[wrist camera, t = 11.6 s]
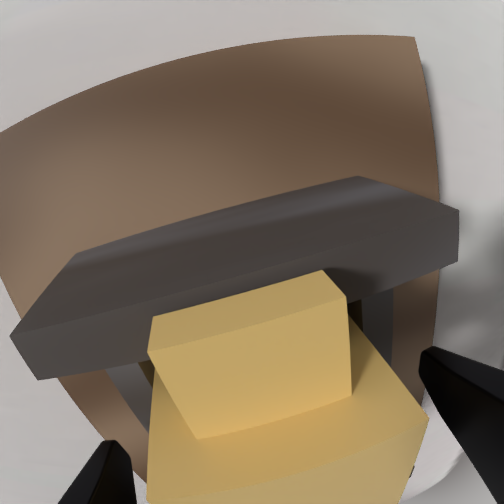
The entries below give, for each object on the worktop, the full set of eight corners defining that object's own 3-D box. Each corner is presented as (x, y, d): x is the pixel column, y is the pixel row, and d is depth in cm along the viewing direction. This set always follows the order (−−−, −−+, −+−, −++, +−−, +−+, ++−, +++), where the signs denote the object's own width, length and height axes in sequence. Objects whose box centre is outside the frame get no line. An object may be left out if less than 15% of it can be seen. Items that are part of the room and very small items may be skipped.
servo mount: (403, 412, 15) (449, 480, 10) (166, 481, 14) (170, 563, 9) (389, 45, 9) (511, 13, 3) (-14, 153, 7) (-132, 184, 2)
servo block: (326, 424, 12) (379, 540, 6) (234, 450, 12) (260, 575, 6) (291, 197, 8) (450, 315, 3) (142, 238, 8) (71, 423, 2)
